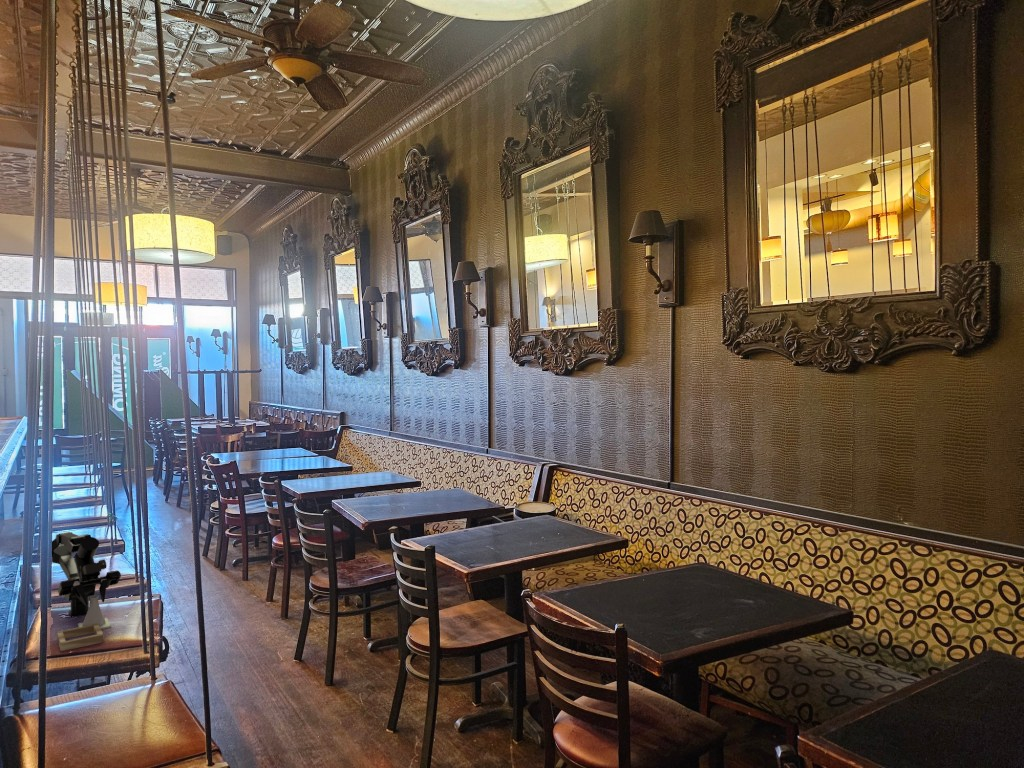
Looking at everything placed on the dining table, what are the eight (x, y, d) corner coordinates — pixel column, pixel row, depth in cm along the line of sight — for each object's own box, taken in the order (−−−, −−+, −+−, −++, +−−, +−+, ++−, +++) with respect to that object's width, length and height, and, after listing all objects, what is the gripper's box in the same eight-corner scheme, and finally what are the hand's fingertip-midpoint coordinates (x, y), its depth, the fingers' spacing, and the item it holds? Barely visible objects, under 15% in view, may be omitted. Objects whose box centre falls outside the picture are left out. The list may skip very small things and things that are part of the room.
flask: (102, 627, 240) (102, 599, 239) (79, 629, 238) (78, 601, 237) (108, 619, 247) (108, 592, 246) (86, 621, 245) (86, 593, 244)
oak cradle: (57, 638, 231) (56, 631, 231) (98, 630, 238) (98, 623, 238) (60, 651, 222) (60, 643, 222) (103, 642, 229) (103, 634, 229)
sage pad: (77, 625, 243) (77, 623, 243) (106, 619, 248) (106, 617, 248) (81, 633, 236) (81, 631, 236) (111, 627, 241) (110, 625, 241)
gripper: (59, 558, 237) (69, 598, 230) (119, 548, 250) (129, 585, 243) (53, 576, 243) (62, 615, 236) (112, 564, 256) (122, 601, 249)
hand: (95, 603), depth 241 cm, fingers open, 5 cm apart
